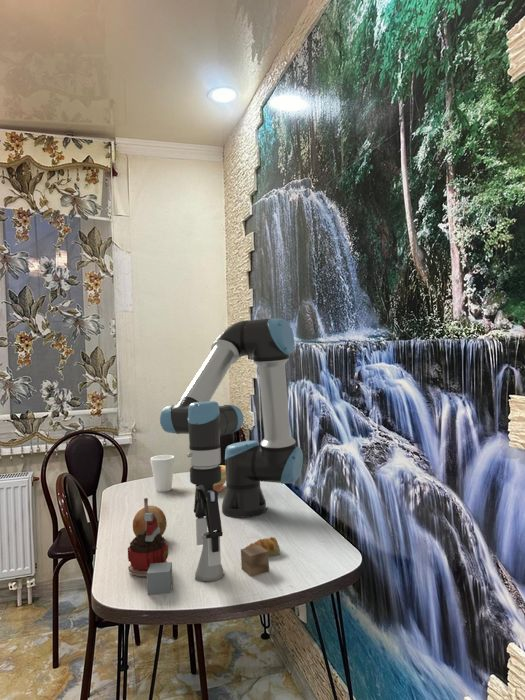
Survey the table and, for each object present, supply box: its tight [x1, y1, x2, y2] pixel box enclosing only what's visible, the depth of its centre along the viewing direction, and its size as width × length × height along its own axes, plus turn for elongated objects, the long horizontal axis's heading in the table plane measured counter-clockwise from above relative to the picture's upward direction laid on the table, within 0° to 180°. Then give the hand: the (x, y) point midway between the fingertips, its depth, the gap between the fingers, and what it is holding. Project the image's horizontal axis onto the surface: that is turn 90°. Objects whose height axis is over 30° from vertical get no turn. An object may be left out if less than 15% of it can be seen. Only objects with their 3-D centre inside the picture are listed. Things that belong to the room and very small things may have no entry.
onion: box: [132, 505, 168, 537], centre depth 140 cm, size 10×10×10 cm
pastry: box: [244, 536, 281, 558], centre depth 127 cm, size 9×7×4 cm
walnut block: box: [240, 545, 270, 578], centre depth 117 cm, size 5×5×5 cm
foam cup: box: [150, 454, 175, 493], centre depth 194 cm, size 10×9×13 cm
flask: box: [194, 531, 225, 582], centre depth 116 cm, size 7×7×10 cm
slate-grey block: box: [146, 561, 174, 596], centre depth 110 cm, size 5×5×5 cm
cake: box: [127, 497, 169, 577], centre depth 120 cm, size 11×9×18 cm
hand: (208, 554), depth 115 cm, fingers open, 13 cm apart
